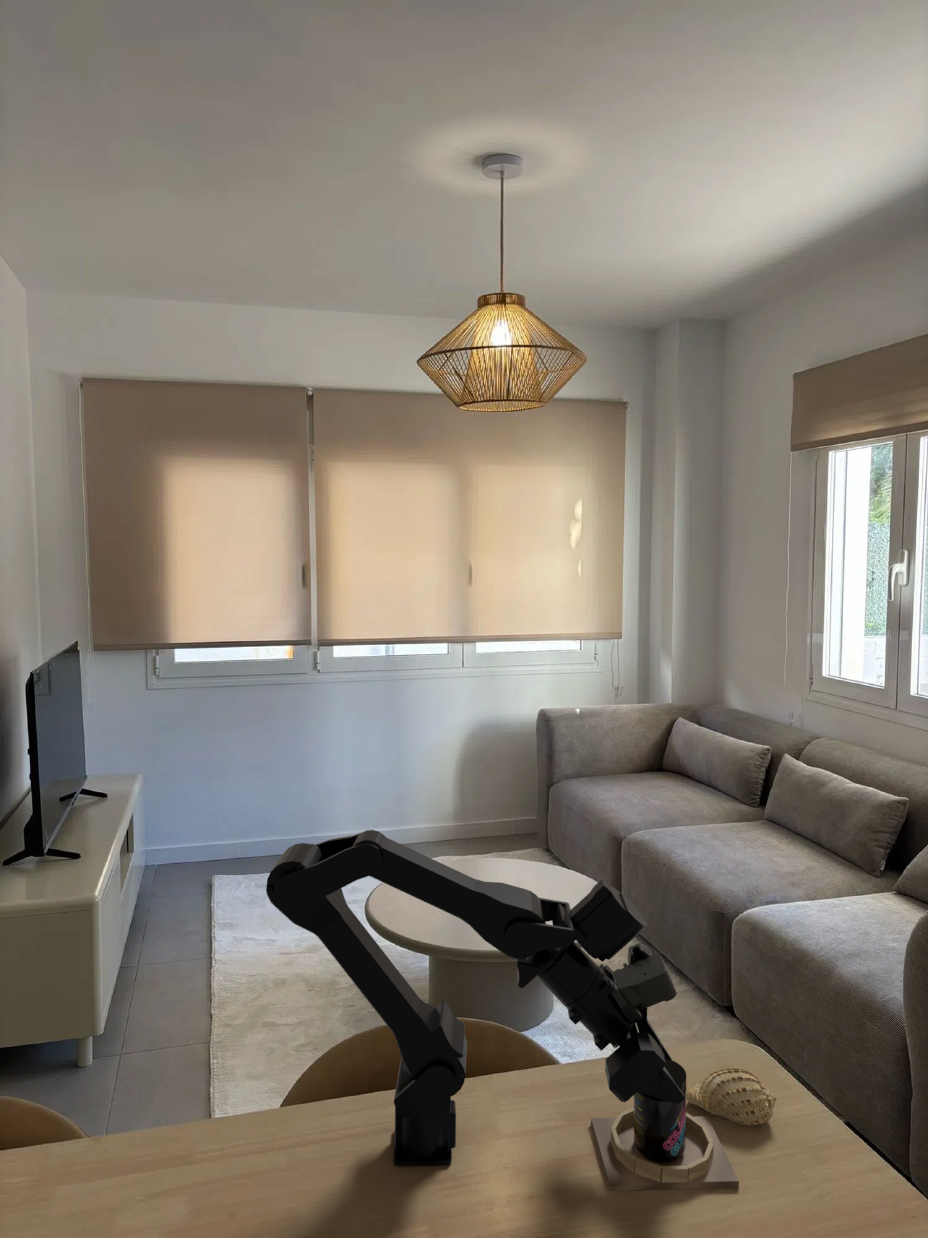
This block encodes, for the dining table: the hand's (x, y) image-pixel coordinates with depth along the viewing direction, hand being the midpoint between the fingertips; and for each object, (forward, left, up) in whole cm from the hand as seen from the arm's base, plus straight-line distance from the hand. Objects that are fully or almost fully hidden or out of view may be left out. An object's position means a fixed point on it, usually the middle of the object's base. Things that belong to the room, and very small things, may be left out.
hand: (675, 1081), depth 102 cm
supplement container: (-2, 0, -8) cm, 8 cm away
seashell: (+9, +8, -9) cm, 15 cm away
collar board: (-1, 0, -9) cm, 9 cm away
